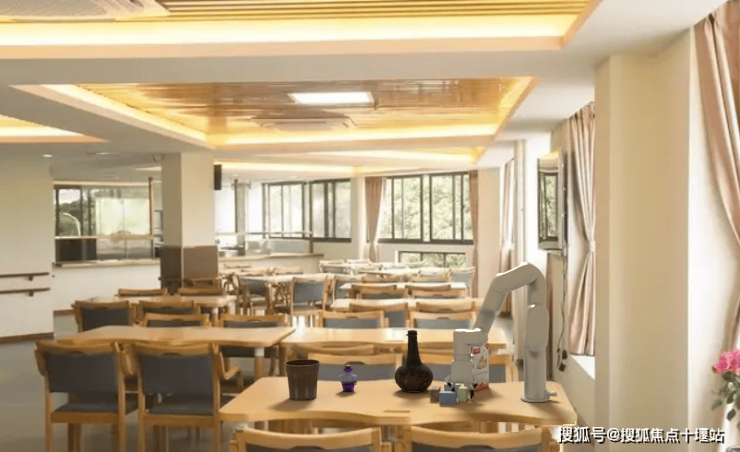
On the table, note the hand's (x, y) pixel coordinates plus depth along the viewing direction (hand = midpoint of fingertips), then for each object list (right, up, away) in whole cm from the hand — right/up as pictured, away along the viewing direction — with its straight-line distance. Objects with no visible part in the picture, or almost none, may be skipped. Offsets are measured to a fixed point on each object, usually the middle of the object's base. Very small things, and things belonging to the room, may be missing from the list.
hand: (462, 397), depth 366 cm
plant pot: (-71, -2, +10) cm, 72 cm away
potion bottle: (-51, -2, +23) cm, 56 cm away
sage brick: (0, -1, 0) cm, 1 cm away
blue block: (-7, -1, -7) cm, 10 cm away
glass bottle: (-20, -1, +21) cm, 29 cm away
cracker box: (+9, -1, +22) cm, 24 cm away
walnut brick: (-12, -1, +2) cm, 12 cm away
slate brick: (-3, -1, +10) cm, 11 cm away
